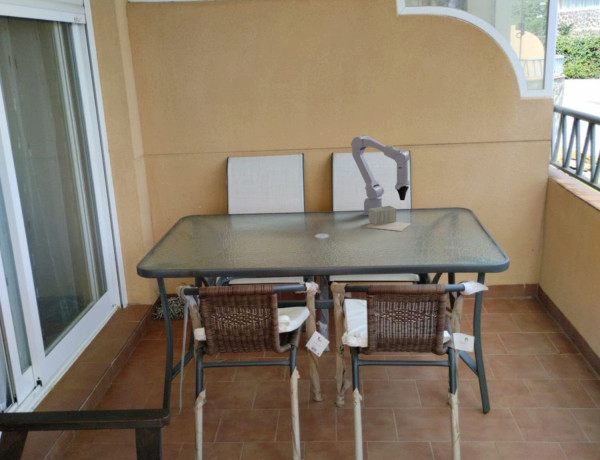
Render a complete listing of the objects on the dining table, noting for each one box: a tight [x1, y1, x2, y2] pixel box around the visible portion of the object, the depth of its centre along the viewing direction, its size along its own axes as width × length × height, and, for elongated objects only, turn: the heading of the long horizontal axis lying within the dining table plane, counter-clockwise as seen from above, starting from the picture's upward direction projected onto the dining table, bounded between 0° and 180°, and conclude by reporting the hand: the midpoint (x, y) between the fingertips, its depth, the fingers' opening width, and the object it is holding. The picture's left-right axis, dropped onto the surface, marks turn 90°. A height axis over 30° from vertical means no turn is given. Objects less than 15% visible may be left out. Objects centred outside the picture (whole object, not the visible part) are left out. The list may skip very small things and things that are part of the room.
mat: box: [364, 221, 412, 232], centre depth 308 cm, size 20×14×1 cm
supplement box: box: [368, 205, 397, 225], centre depth 313 cm, size 7×7×13 cm
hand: (402, 200), depth 321 cm, fingers closed
